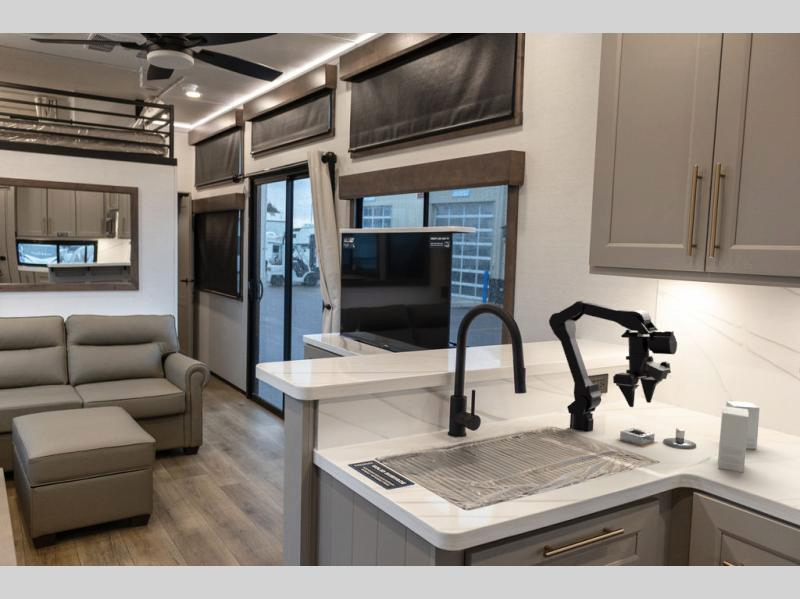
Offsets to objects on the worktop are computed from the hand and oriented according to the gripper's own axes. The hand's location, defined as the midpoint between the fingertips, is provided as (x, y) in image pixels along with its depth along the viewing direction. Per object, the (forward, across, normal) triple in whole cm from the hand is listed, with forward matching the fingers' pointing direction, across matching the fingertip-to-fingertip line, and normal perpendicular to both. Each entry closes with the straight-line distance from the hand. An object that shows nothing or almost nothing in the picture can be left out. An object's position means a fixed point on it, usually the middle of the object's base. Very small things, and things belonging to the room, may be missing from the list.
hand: (640, 404), depth 189 cm
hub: (+13, +8, -8) cm, 17 cm away
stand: (+12, 0, +1) cm, 12 cm away
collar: (+11, 0, +1) cm, 11 cm away
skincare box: (+14, +4, -24) cm, 29 cm away
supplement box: (+14, +27, -16) cm, 35 cm away
